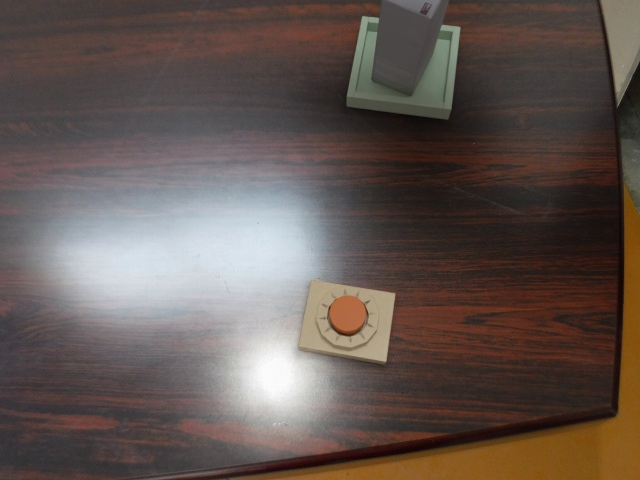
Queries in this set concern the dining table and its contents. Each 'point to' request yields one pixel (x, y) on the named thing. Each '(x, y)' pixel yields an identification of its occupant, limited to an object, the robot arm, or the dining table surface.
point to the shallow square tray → (430, 91)
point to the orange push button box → (358, 345)
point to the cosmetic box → (406, 41)
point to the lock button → (347, 314)
